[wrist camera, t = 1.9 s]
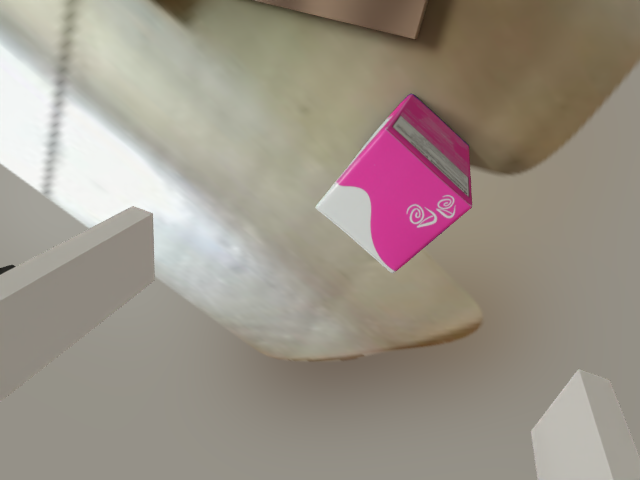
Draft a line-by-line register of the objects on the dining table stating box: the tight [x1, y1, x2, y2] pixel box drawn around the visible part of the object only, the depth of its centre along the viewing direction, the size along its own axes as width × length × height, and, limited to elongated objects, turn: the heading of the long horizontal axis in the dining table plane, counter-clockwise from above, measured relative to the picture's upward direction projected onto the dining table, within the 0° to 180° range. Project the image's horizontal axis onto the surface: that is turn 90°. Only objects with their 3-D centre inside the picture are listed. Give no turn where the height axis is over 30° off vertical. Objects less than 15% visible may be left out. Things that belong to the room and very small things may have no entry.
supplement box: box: [316, 94, 472, 273], centre depth 25 cm, size 6×6×12 cm
